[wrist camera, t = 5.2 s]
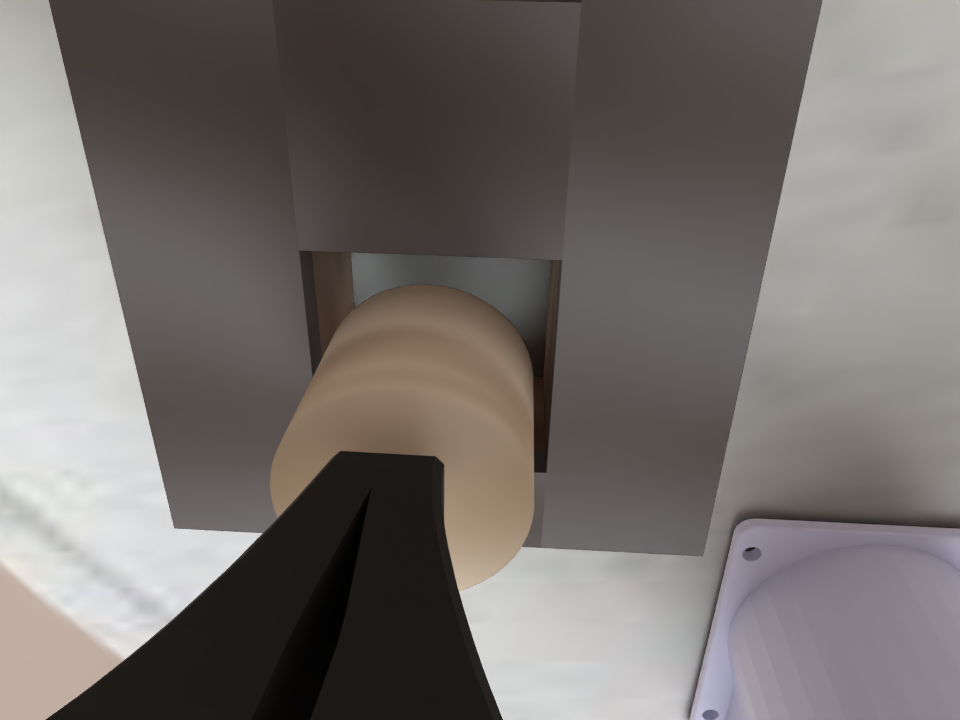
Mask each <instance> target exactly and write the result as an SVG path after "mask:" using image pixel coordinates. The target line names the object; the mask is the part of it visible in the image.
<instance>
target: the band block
mask: <svg viewBox="0 0 960 720" xmlns="http://www.w3.org/2000/svg"><path fill="white" fill-rule="evenodd" d="M49 3H50V7H51V11H52V16H53V20H54V24H55V28H56V32H57V37H58V41H59V45H60V49H61V53H62V58H63V62H64V66H65V70H66V75H67V79H68V83H69V87H70V91H71V96H72V100H73V104H74V108H75V112H76V117H77V121H78V125H79V129H80V133H81V138H82V142H83V146H84V150H85V154H86V159H87V163H88V167H89V171H90V175H91V180H92V184H93V188H94V192H95V196H96V201H97V205H98V209H99V213H100V218H101V222H102V226H103V230H104V234H105V239H106V243H107V247H108V251H109V255H110V260H111V264H112V268H113V272H114V276H115V281H116V285H117V289H118V293H119V297H120V302H121V306H122V310H123V314H124V318H125V323H126V327H127V331H128V335H129V339H130V344H131V348H132V352H133V356H134V361H135V365H136V369H137V373H138V377H139V382H140V386H141V390H142V394H143V398H144V403H145V407H146V411H147V415H148V419H149V424H150V428H151V432H152V436H153V440H154V445H155V449H156V453H157V457H158V461H159V466H160V470H161V474H162V478H163V482H164V487H165V491H166V495H167V499H168V503H169V508H170V512H171V516H172V520H173V525H174V528H178V529H196V530H215V531H234V532H253V533H264V532H265V531H266V530H267V529H268V528H269V527H270V526H271V525H272V524H273V522H274V521H275V520H276V519H277V515H276V513H275V510H274V507H273V503H272V498H271V491H270V475H271V467H272V463H273V459H274V456H275V453H276V451H277V449H278V447H279V445H280V443H281V441H282V439H283V436H284V434H285V432H286V430H287V428H288V426H289V424H290V422H291V420H292V418H293V416H294V414H295V412H296V410H297V408H298V406H299V404H300V402H301V400H302V398H303V396H304V394H305V392H306V390H307V388H308V386H309V384H310V382H311V380H312V378H313V376H314V374H315V372H316V370H317V368H318V366H319V364H320V362H321V360H322V358H323V356H324V354H325V352H326V350H327V348H328V346H329V344H330V342H331V340H332V337H333V335H334V333H335V331H336V330H337V328H338V327H339V325H340V324H341V322H342V321H343V319H344V318H345V317H346V316H347V315H348V314H349V313H350V312H351V311H352V310H353V309H354V297H353V283H352V269H351V255H350V252H357V253H384V254H412V255H439V256H466V257H494V258H521V259H548V260H551V273H550V288H549V303H548V318H547V333H546V348H545V364H544V377H533V400H534V514H533V520H532V524H531V527H530V530H529V533H528V536H527V538H526V539H525V541H524V543H523V545H522V547H537V548H556V549H575V550H594V551H613V552H632V553H651V554H670V555H689V556H703V554H704V549H705V544H706V540H707V535H708V530H709V526H710V521H711V516H712V512H713V507H714V502H715V498H716V493H717V488H718V484H719V479H720V474H721V470H722V465H723V460H724V456H725V451H726V447H727V442H728V437H729V433H730V428H731V423H732V419H733V414H734V409H735V405H736V400H737V395H738V391H739V386H740V381H741V377H742V372H743V367H744V363H745V358H746V353H747V349H748V344H749V339H750V335H751V330H752V326H753V321H754V316H755V312H756V307H757V302H758V298H759V293H760V288H761V284H762V279H763V274H764V270H765V265H766V260H767V256H768V251H769V246H770V242H771V237H772V232H773V228H774V223H775V218H776V214H777V209H778V205H779V200H780V195H781V191H782V186H783V181H784V177H785V172H786V167H787V163H788V158H789V153H790V149H791V144H792V139H793V135H794V130H795V125H796V121H797V116H798V111H799V107H800V102H801V98H802V93H803V88H804V84H805V79H806V74H807V70H808V65H809V60H810V56H811V51H812V46H813V42H814V37H815V32H816V28H817V23H818V18H819V14H820V9H821V4H822V0H49Z"/></svg>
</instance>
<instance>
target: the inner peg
mask: <svg viewBox="0 0 960 720" xmlns="http://www.w3.org/2000/svg"><path fill="white" fill-rule="evenodd" d="M340 451H353V452H371V453H388V454H406V455H423V456H436V457H437V458H438V459H439V460H440V461H441V462H442V463H443V464H444V524H445V531H446V537H447V542H448V548H449V552H450V556H451V561H452V565H453V569H454V574H455V578H456V582H457V587H458V590H459V591H461V590H464V589H467V588H469V587H472V586H474V585H476V584H479V583H481V582H483V581H484V580H486V579H488V578H490V577H491V576H493V575H494V574H496V573H497V572H498V571H500V570H501V569H502V568H504V567H505V566H506V565H507V564H508V563H509V562H510V561H511V560H512V559H513V558H514V556H515V555H516V554H517V552H518V551H519V550H520V548H521V547H522V545H523V543H524V541H525V539H526V538H527V536H528V533H529V530H530V527H531V524H532V520H533V514H534V400H533V369H532V363H531V359H530V356H529V353H528V350H527V347H526V345H525V343H524V341H523V339H522V337H521V336H520V335H519V333H518V332H517V330H516V329H515V327H514V326H513V325H512V324H511V323H510V322H509V321H508V319H507V318H506V317H505V316H504V315H502V314H501V313H500V312H499V311H498V310H497V309H495V308H494V307H493V306H491V305H490V304H488V303H487V302H485V301H483V300H482V299H480V298H478V297H476V296H474V295H472V294H469V293H467V292H464V291H461V290H458V289H455V288H450V287H446V286H440V285H430V284H417V285H407V286H400V287H396V288H392V289H389V290H385V291H383V292H381V293H378V294H376V295H374V296H372V297H370V298H368V299H367V300H365V301H363V302H362V303H360V304H359V305H358V306H357V307H355V308H354V309H353V310H352V311H351V312H350V313H349V314H348V315H347V316H346V317H345V318H344V319H343V321H342V322H341V324H340V325H339V327H338V328H337V330H336V331H335V333H334V335H333V337H332V340H331V342H330V344H329V346H328V348H327V350H326V352H325V354H324V356H323V358H322V360H321V362H320V364H319V366H318V368H317V370H316V372H315V374H314V376H313V378H312V380H311V382H310V384H309V386H308V388H307V390H306V392H305V394H304V396H303V398H302V400H301V402H300V404H299V406H298V408H297V410H296V412H295V414H294V416H293V418H292V420H291V422H290V424H289V426H288V428H287V430H286V432H285V434H284V436H283V439H282V441H281V443H280V445H279V447H278V449H277V451H276V453H275V456H274V459H273V463H272V467H271V475H270V491H271V498H272V503H273V507H274V510H275V513H276V515H277V518H278V517H279V516H280V515H281V514H282V513H283V512H284V511H285V510H286V509H287V507H288V506H289V505H290V504H291V503H292V502H293V501H294V500H295V499H296V498H297V497H298V496H299V494H300V493H301V492H302V491H303V490H304V489H305V488H306V487H307V485H308V484H309V483H310V482H311V481H312V480H313V479H314V478H315V476H316V475H317V474H318V473H319V472H320V471H321V470H322V469H323V467H324V466H325V465H326V464H327V463H328V462H329V461H330V459H331V458H332V457H334V456H335V455H336V454H337V453H338V452H340Z"/></svg>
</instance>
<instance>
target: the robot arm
mask: <svg viewBox="0 0 960 720" xmlns="http://www.w3.org/2000/svg"><path fill="white" fill-rule="evenodd" d="M750 547H755V549H754V550H752V551H744V550H745V549H747V548H750ZM46 720H503V719H502V716H501V714H500V711H499V709H498V706H497V704H496V701H495V699H494V696H493V694H492V691H491V689H490V686H489V683H488V681H487V678H486V675H485V672H484V670H483V667H482V664H481V661H480V658H479V655H478V653H477V650H476V647H475V644H474V641H473V637H472V634H471V631H470V628H469V625H468V621H467V618H466V615H465V612H464V608H463V605H462V601H461V598H460V594H459V590H458V587H457V582H456V578H455V574H454V569H453V565H452V561H451V556H450V552H449V548H448V542H447V537H446V531H445V524H444V464H443V463H442V462H441V461H440V460H439V459H438V458H437V457H436V456H423V455H406V454H388V453H371V452H353V451H340V452H338V453H337V454H336V455H335V456H334V457H332V458H331V459H330V461H329V462H328V463H327V464H326V465H325V466H324V467H323V469H322V470H321V471H320V472H319V473H318V474H317V475H316V476H315V478H314V479H313V480H312V481H311V482H310V483H309V484H308V485H307V487H306V488H305V489H304V490H303V491H302V492H301V493H300V494H299V496H298V497H297V498H296V499H295V500H294V501H293V502H292V503H291V504H290V505H289V506H288V507H287V509H286V510H285V511H284V512H283V513H282V514H281V515H280V516H279V517H278V518H277V519H276V520H275V521H274V522H273V524H272V525H271V526H270V527H269V528H268V529H267V530H266V531H265V532H264V533H263V534H262V535H261V536H260V537H259V538H258V539H257V540H256V541H255V542H254V543H253V544H252V545H251V546H250V547H249V548H248V549H247V550H246V551H245V552H244V553H243V554H242V555H241V556H240V557H239V558H238V559H237V560H236V561H235V562H234V563H233V564H232V565H231V566H230V567H229V568H228V569H227V570H226V571H225V572H224V573H223V574H222V575H221V576H220V577H218V578H217V579H216V580H215V581H214V582H213V583H212V584H211V585H210V586H209V587H208V588H207V589H205V590H204V591H203V592H202V593H201V594H200V595H199V596H198V597H197V598H196V599H195V600H194V601H192V602H191V603H190V604H189V605H188V606H187V607H186V608H185V609H184V610H183V611H182V612H181V613H180V614H178V615H177V616H176V617H175V618H174V619H173V620H172V621H171V622H169V623H168V624H167V625H166V626H165V627H164V628H162V629H161V630H160V631H159V632H158V633H157V634H155V635H154V636H153V637H152V638H151V639H150V640H148V641H147V642H146V643H145V644H144V645H142V646H141V647H140V648H139V649H137V650H136V651H135V652H134V653H133V654H131V655H130V656H129V657H128V658H126V659H125V660H124V661H123V662H121V663H120V664H119V665H118V666H116V667H115V668H114V669H113V670H112V671H110V672H109V673H108V674H107V675H105V676H104V677H103V678H101V679H100V680H99V681H97V682H96V683H95V684H94V685H92V686H91V687H90V688H88V689H87V690H86V691H84V692H83V693H82V694H80V695H79V696H78V697H77V698H75V699H74V700H72V701H71V702H69V703H68V704H67V705H65V706H64V707H63V708H61V709H60V710H58V711H57V712H56V713H54V714H53V715H52V716H50V717H49V718H47V719H46ZM689 720H960V529H955V528H936V527H916V526H896V525H876V524H856V523H837V522H817V521H797V520H777V519H758V518H754V519H747V520H745V521H742V522H741V523H740V524H738V525H737V526H736V528H735V530H734V533H733V538H732V542H731V546H730V550H729V554H728V559H727V563H726V567H725V571H724V576H723V580H722V584H721V588H720V592H719V597H718V601H717V605H716V609H715V614H714V618H713V622H712V626H711V630H710V635H709V639H708V643H707V647H706V652H705V656H704V660H703V664H702V669H701V673H700V677H699V681H698V685H697V690H696V694H695V698H694V702H693V707H692V711H691V715H690V719H689Z"/></svg>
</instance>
